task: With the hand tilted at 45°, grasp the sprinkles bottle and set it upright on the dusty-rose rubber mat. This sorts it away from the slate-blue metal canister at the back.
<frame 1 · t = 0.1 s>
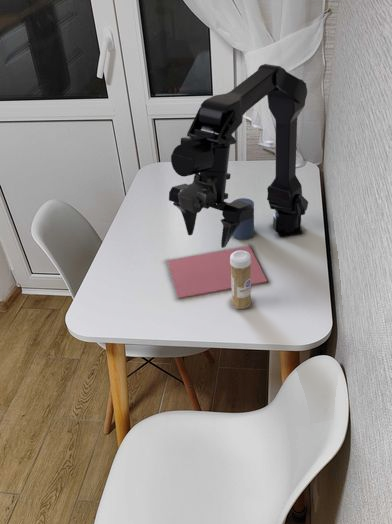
hand: (206, 241, 117), 15 cm above the table, tool pointing down, fingers open, 9 cm apart
sprinkles bottle: (241, 304, 125), on the table
rose mat: (215, 271, 135), on the table
blue canister: (243, 233, 146), on the table
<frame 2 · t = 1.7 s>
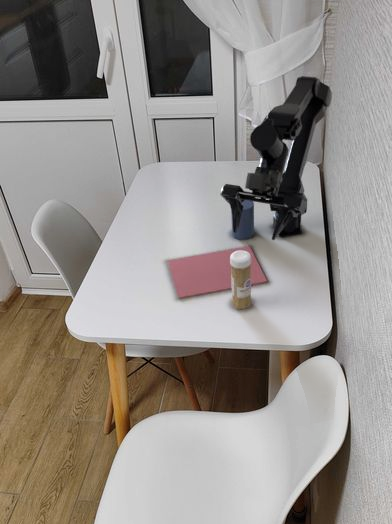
hand: (253, 236, 121), 13 cm above the table, tool tilted 45°, fingers open, 9 cm apart
nothing on the table moved.
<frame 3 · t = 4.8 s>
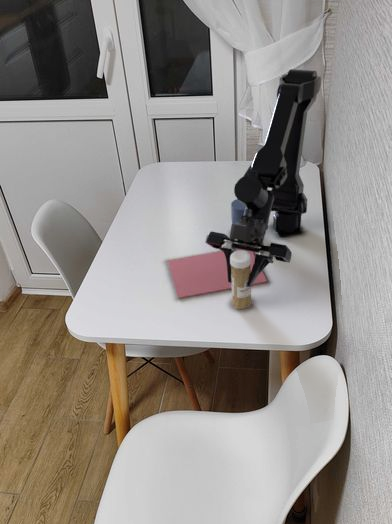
hand: (238, 284, 120), 7 cm above the table, tool tilted 45°, fingers closed on sprinkles bottle, 4 cm apart
sprinkles bottle: (241, 304, 125), on the table, touching gripper
everything else where it was.
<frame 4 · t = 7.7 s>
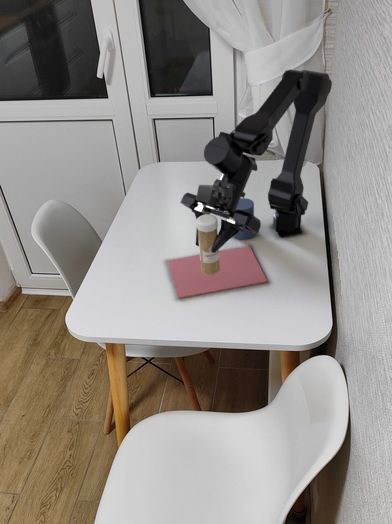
hand: (205, 248, 119), 13 cm above the table, tool tilted 45°, fingers closed on sprinkles bottle, 4 cm apart
sprinkles bottle: (210, 270, 124), point 6 cm above the table, touching gripper
everything else where it was.
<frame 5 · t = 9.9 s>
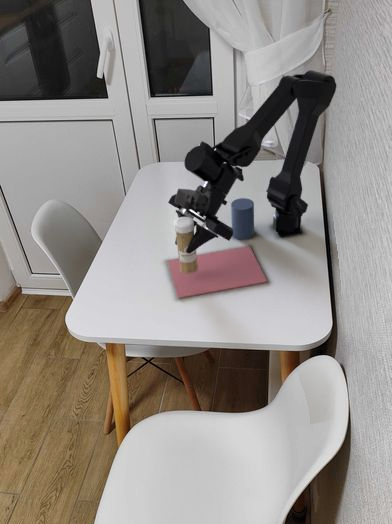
hand: (182, 248, 126), 9 cm above the table, tool tilted 45°, fingers closed on sprinkles bottle, 4 cm apart
sprinkles bottle: (189, 269, 132), point 3 cm above the table, touching gripper
everything else where it was.
when the fingers open (7 cm above the table, at t = 11.0 s): sprinkles bottle stays where it is, resting on rose mat.
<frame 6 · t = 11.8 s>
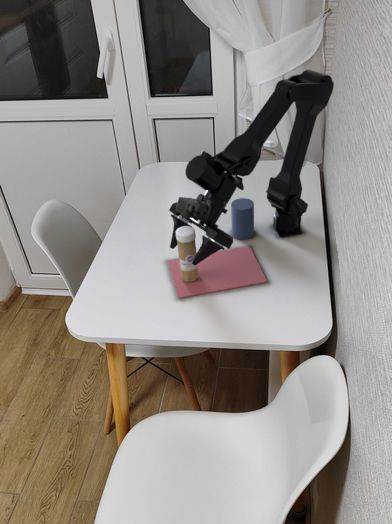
hand: (182, 256, 128), 7 cm above the table, tool tilted 45°, fingers open, 9 cm apart
sprinkles bottle: (190, 277, 133), resting on rose mat
everything else where it was.
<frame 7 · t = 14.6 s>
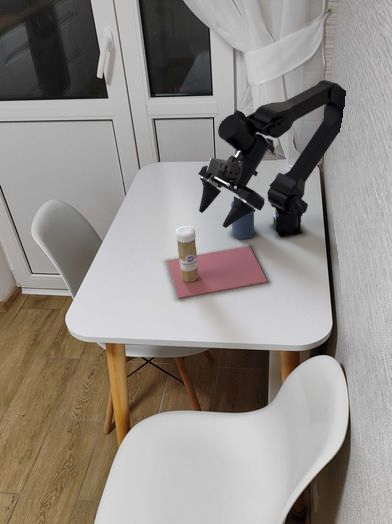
hand: (212, 219, 127), 14 cm above the table, tool tilted 45°, fingers open, 9 cm apart
nothing on the table moved.
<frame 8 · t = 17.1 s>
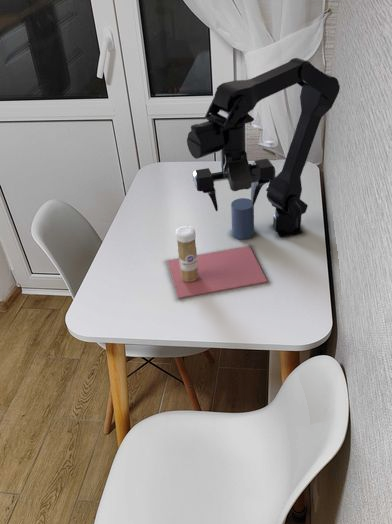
hand: (234, 207, 131), 13 cm above the table, tool pointing down, fingers open, 9 cm apart
nothing on the table moved.
at the end: sprinkles bottle inside the target area on the rose mat (6.9 cm from its centre), point 0.2 cm above the rose mat's base; sprinkles bottle tilted 0°; sprinkles bottle touching rose mat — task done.
